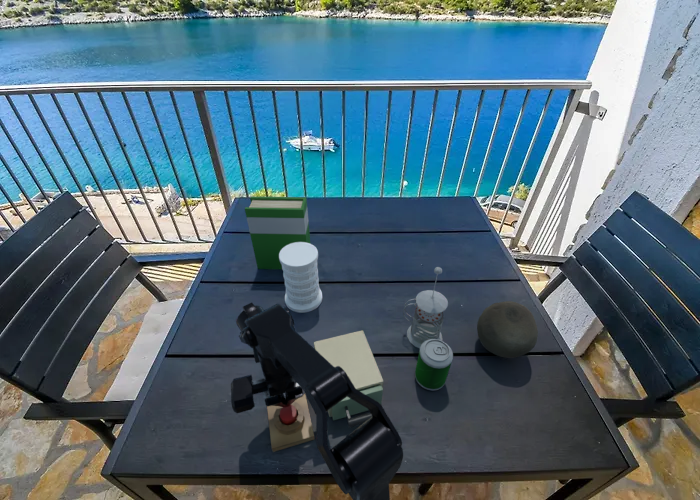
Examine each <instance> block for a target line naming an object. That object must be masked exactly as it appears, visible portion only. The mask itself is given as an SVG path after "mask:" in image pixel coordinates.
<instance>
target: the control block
mask: <svg viewBox="0 0 700 500" xmlns="http://www.w3.org/2000/svg"><path fill="white" fill-rule="evenodd" d="M308 404H309V403H308V399H307V397H306V394H305V393H303V396H302V397H301V398H298V399H297V400H295V401H294V402H293V403H292V404H291V405H293V406H294V407H295V408H296V411H297V419H296V420H295V422H294V423H292V424H289V425H286V424H284V423H283V422H282V421H281V418H280V410H281V409H282V408H283V407H280V406H266V410H267V411H266V412H267V418H268V420H267V421H268V428H269V437H270V438H269V439H270V445H271V451H272V453H275V452H278V451H281V450H285V449H288V448H291V447H295V446H298V445H301V444H305V443H307V442H308V443H309V442H310V441H311V442H312V441H314V440H315V439H316V438H315V433H314V428H313V423H312V419H311V414H310V409H309V405H308Z"/></svg>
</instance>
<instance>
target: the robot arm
mask: <svg viewBox="0 0 700 500" xmlns="http://www.w3.org/2000/svg"><path fill="white" fill-rule="evenodd" d="M235 323H236V326H237V327H238V329H239V331H240V333H239V335H238V338H239V340H240V342H241V343H243V344H245V345H247V346H248V347H249V348H251V349H252V353H253V357H254V361H255V363H256V364H258V363H259V364H260V367H261V372H262V375H263V378H260V379H257V380H253V375H252V374H247V375H243V376H239V377H236V378H233V379H232V381H231V383H230V403H231V408H232V410H233V412H234V413H236V414H240V413H241V414H242V413H244V412H248V411H251V410H253V408H255V406H256V403H255V400H254V399H255V398H254V395H257V394H261V393H262V395H263V399H264V404H265V406H266V407H267V406H280V407H284V408H286V407H289V406H290V405H291V404H292V403H293V402H294V401H295V400H297V399H298V398H301V397H302V396H303V394H306V399H307V402H308V404H310V406H311V408H312V410H313V412H314V413H315V420H316V421H315V422H316V423H315V424H316V427H315V428H316V429H315V430H316V447H317V449H318V451H319V453H320V455H321V457H322V459H323V461H324V463H325V465H326V466H327V469H328V470H329V472H330V474H331V475H332V477H333V479H334V481H335V483H336V484H337V486H338V487H339V489H340V490H341V491H342V493H343V494H344V495H349V497H350V498H351V499H352V500H391V497H390V493H391V492H390V482H391V481H392V479H393V478H394V477H395V475H396V474H397V473H398V471H399V470H400V468H401V466H402V463H403V459H404V450H403V447H402V445H403V442H402V438H401V436H400V434H399V432H398V430H397V429H396V427H395V426H394V424H393V422H392V420H391V418H390V417H389V416H388V414H387V412H386V411H385V408H383V405H382V403H381V404H380V403H379V402H377V401H376V400H374V399H372V398H370V397H369V396H367V395H365V394H364V393H362V392H360V391H358V390H357V389H356V388H355V387H354V385H353V384H352V382H351V380H350V378H349V377H348V375H347V374H346V372H345V371H344V370H343V369H342V368H341V367H340V366H336V367H334V366H333V365H331V364H330V363H329V362H328V361H327V360H326V359H325V358H324V357H323V356H322V355H321V354H320V353H318V352H317V351H316V350H315V349H314V346H313V345H311V344H310V343H309V342H308V341H307V340H306V339H305V338H304V337H303V336H302V335H300V334H299V333H298V331H296V327H295V320H294V318H293V315H292V314H291V312H290V309H289V308H288V307H287V306H286V307H284V306H282V305H281V304H280V303H276V304H274V305H272V306H270V307H268V308H266V309H264V308H263V307H262V306H260V305H255V304H254V303H253V301H252V302H249V303H247V304H245V305H243V306H242V311H241V312H240V313H239V315H238V316H237V318H236V322H235ZM284 394H285V395H284ZM346 397H349V398H350V399H352V400H354V401H355V402H357V403H359V404H361V405H362V406H364V407H366V408H367V409H368V412H369V413H371V415H372V417H371V418H370V419H368V420H367V421H366V422H365V423H363V424H360V425H359V426H358V427H356V429H354V430H353V431H352V432H350V433H349V434H348V435H346V437H344V438H342V440H340V441H339V442H338V443H337V444H336V445H334V446H333V447H331V448H330V447H329V443H328V441H329V440H328V417H327V416H328V410H329V409H330V408H332V407H333V406H335V405H336V404H337V403H339V402H340V401H342V400H343V399H344V398H346Z"/></svg>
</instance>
